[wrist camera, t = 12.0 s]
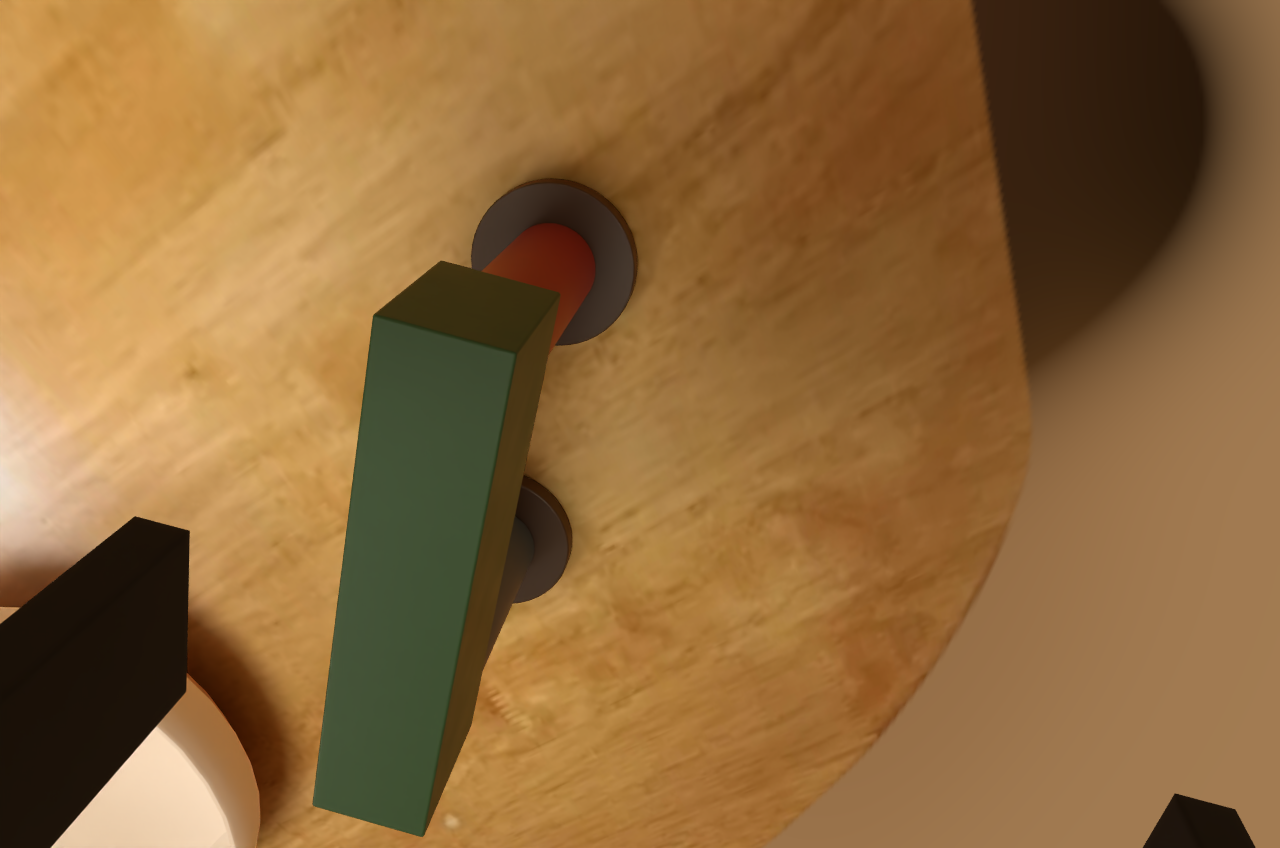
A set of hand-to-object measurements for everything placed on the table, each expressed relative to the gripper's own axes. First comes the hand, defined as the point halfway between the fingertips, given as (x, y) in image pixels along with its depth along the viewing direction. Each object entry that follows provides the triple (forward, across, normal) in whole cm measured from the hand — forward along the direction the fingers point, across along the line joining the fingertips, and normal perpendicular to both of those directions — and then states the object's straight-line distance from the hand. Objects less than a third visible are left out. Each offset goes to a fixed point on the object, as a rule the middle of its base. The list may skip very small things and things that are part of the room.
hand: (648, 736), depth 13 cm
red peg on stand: (+25, -7, -2) cm, 26 cm away
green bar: (+16, -7, -8) cm, 19 cm away
